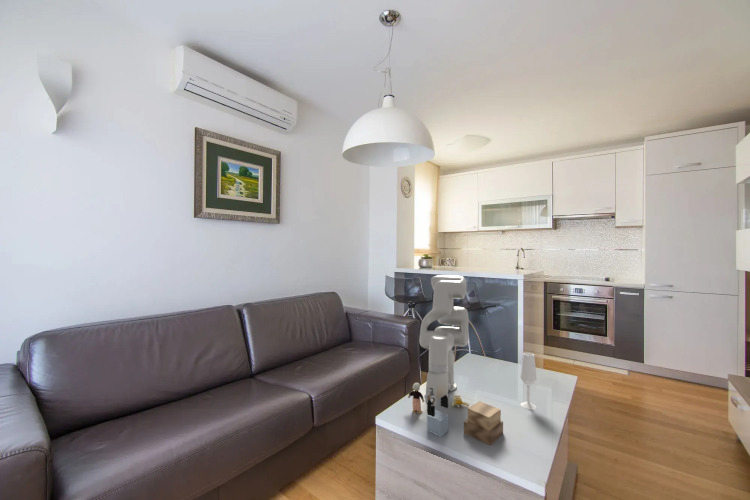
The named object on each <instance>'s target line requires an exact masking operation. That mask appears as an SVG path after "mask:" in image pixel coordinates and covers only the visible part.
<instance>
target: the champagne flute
mask: <svg viewBox="0 0 750 500" xmlns="http://www.w3.org/2000/svg"><path fill="white" fill-rule="evenodd" d="M520 379H521V380H522V381H523V383H524V384H525V385H526V401H523V402H521V403H520V407H522V408H524V409H526V410H536V409H537V406H536V405H535V404H533V403H532V402H531V400H530V399H531V395H530V394H531V393H530V392H531V391H530V390H531V386H532V385H533V384H535V383H536V382H537V370H536V357H535V354H534V353H532V352H523V353H522V360H521V369H520Z"/></svg>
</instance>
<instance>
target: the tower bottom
mask: <svg viewBox="0 0 750 500" xmlns="http://www.w3.org/2000/svg"><path fill="white" fill-rule="evenodd" d="M463 434H464V435H466V436H468V437H471V438H473V439H475V440H477V441H480V442H481V443H484V444H487V445H489V446H493V444H494V443H495V442H496V441H497V440H498V439H499V438H500V437H502V435H503V434H504V421H503V420H501V422H500V423H499V424H498V425H496V426H495V427H493V428H492V429H491V430H489V431H488V430H486V429H484V428H482V427H480V426H477V425H475V424H473V423H471V422H469V421H468V418H466V419H465V420H464V421H463Z"/></svg>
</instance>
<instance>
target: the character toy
mask: <svg viewBox="0 0 750 500" xmlns="http://www.w3.org/2000/svg"><path fill="white" fill-rule="evenodd" d="M462 400H463V399H462V397H461V395H453V402H452V403H451V407H455V406H457V407H458V408H460V406H462V405H465V406H467V408H469V407H470V404H469V403H467V402H464V401H462Z"/></svg>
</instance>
